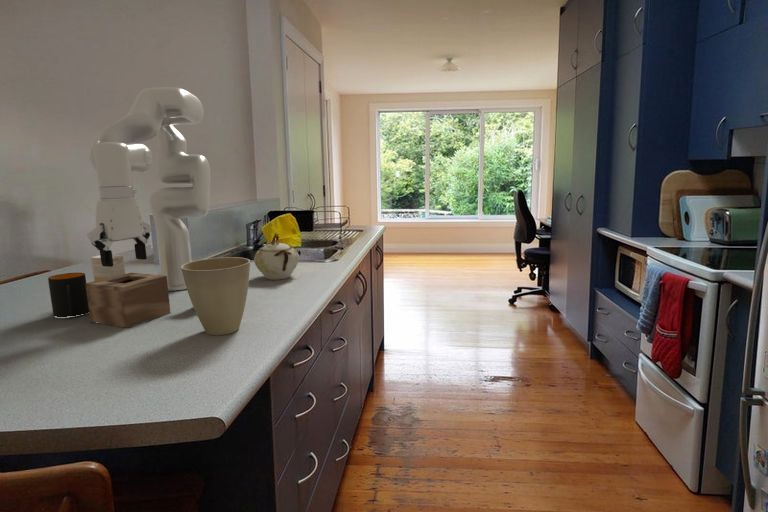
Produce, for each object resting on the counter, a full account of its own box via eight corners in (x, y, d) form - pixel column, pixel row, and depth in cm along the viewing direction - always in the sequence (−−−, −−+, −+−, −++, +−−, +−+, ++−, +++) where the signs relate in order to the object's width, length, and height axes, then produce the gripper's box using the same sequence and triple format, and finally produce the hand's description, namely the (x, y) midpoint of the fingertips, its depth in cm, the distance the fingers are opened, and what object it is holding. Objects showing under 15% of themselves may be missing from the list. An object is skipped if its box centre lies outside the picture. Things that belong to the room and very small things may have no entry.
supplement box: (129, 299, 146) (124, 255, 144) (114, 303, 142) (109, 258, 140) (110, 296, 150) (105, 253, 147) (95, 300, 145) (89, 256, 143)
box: (90, 322, 124) (85, 283, 123) (135, 308, 136) (130, 272, 134) (127, 327, 119) (122, 287, 117) (170, 312, 131) (166, 275, 129)
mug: (53, 324, 124) (47, 283, 122) (53, 313, 134) (48, 275, 132) (91, 318, 128) (86, 278, 126) (89, 307, 138) (84, 271, 136)
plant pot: (202, 321, 123) (196, 257, 120) (262, 320, 123) (257, 256, 120) (176, 342, 108) (168, 270, 106) (243, 341, 108) (238, 269, 105)
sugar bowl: (309, 279, 167) (307, 234, 164) (266, 285, 159) (262, 239, 156) (288, 269, 183) (286, 229, 181) (248, 275, 176) (244, 232, 173)
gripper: (136, 192, 131) (143, 255, 134) (72, 196, 116) (82, 268, 119) (156, 191, 128) (163, 257, 131) (94, 196, 113) (104, 270, 116)
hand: (125, 262), depth 125 cm, fingers open, 9 cm apart
